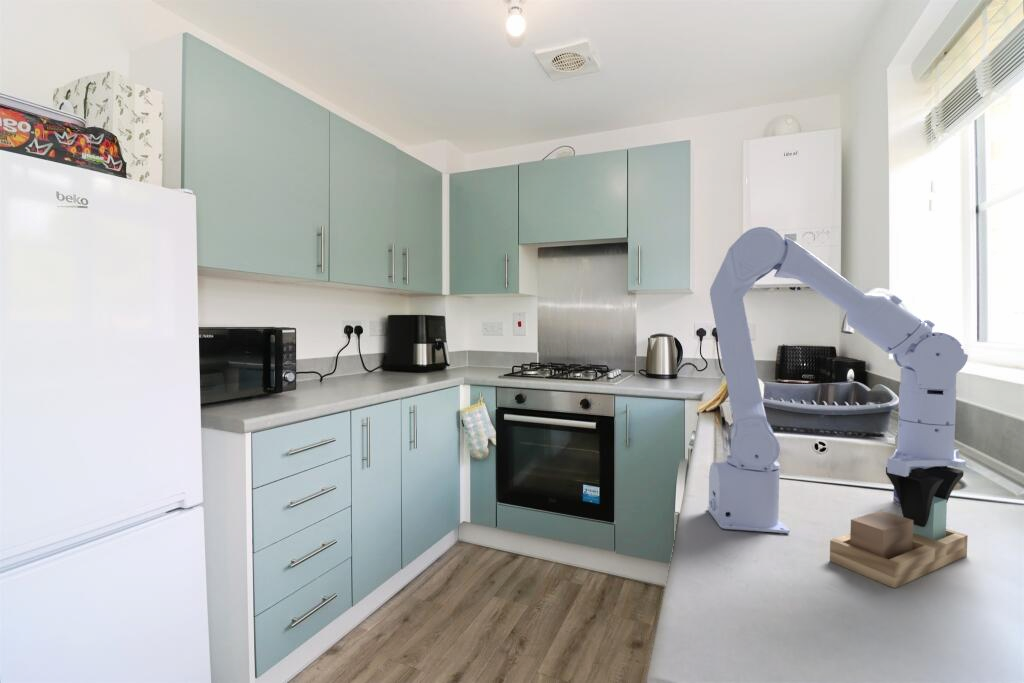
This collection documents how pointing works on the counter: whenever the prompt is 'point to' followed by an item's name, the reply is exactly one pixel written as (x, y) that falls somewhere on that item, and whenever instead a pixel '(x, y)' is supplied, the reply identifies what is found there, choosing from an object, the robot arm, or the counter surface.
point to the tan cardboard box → (882, 534)
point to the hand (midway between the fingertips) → (922, 521)
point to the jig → (900, 558)
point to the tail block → (934, 521)
